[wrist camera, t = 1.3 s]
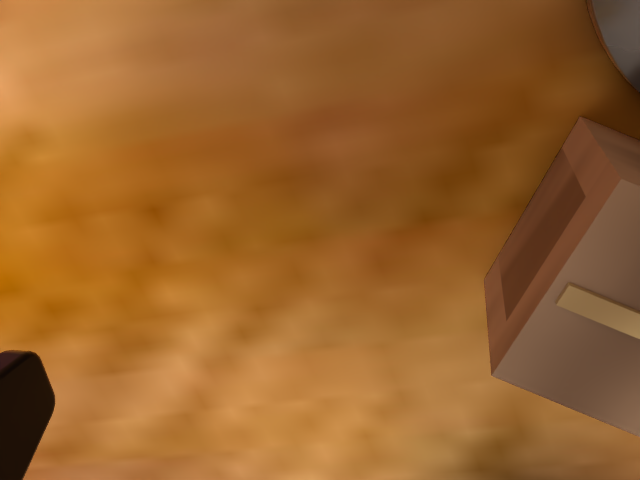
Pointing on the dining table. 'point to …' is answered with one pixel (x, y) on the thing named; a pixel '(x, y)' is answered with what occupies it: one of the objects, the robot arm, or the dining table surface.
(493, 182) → the dining table surface
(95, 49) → the dining table surface
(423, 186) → the dining table surface
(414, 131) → the dining table surface
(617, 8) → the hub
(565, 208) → the drawer-style box
